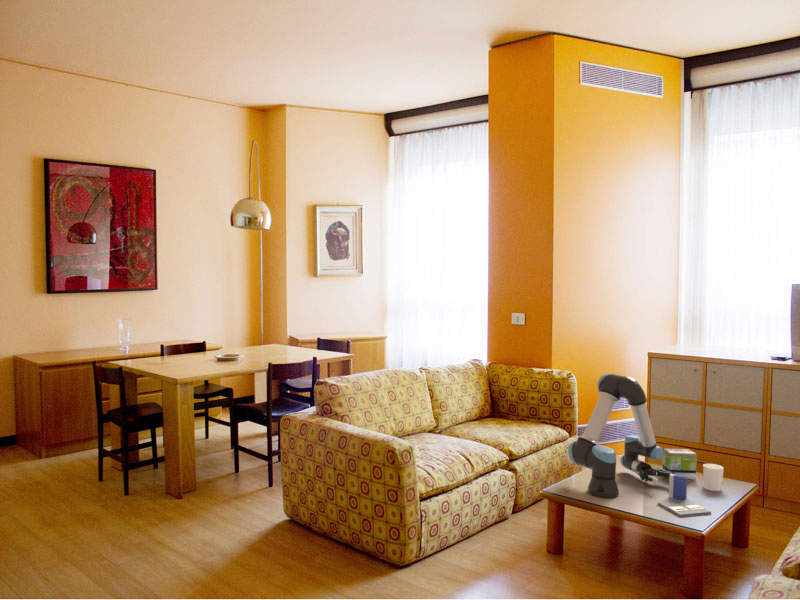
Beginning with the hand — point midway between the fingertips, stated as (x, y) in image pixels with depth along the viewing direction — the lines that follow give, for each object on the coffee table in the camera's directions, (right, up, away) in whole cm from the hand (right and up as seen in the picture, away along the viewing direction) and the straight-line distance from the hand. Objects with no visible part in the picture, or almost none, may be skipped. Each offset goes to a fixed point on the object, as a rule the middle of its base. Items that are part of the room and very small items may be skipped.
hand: (668, 481), depth 315 cm
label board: (-2, -7, -22) cm, 23 cm away
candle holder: (+27, -7, +8) cm, 29 cm away
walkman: (+1, -7, -8) cm, 10 cm away
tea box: (+18, -6, +28) cm, 34 cm away
